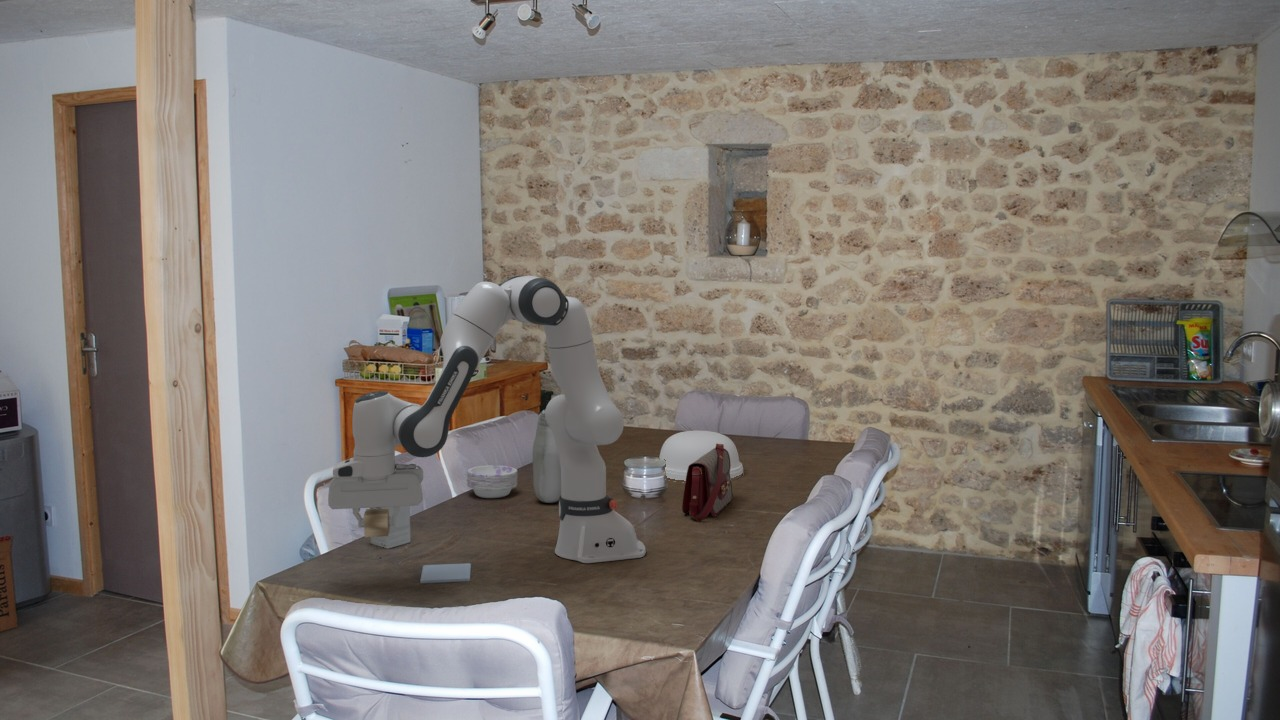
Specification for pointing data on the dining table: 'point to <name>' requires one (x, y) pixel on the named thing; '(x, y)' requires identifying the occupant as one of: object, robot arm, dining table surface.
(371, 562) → the dining table surface
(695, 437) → the dome cover
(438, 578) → the coaster
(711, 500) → the handbag
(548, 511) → the dining table surface
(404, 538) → the supplement box
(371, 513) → the beech cube
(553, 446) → the glass bottle
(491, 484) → the paper bowls
